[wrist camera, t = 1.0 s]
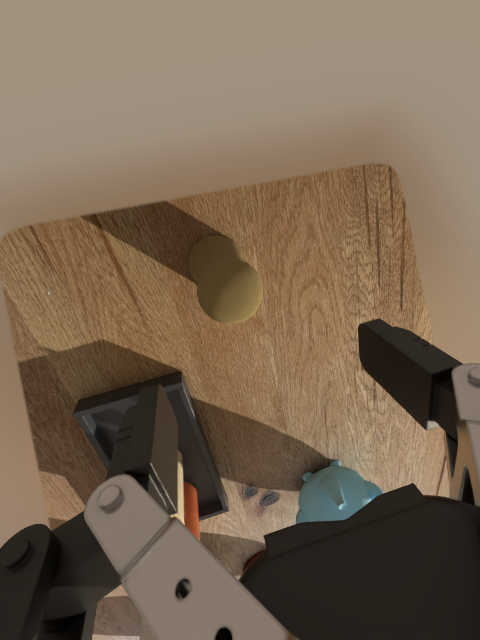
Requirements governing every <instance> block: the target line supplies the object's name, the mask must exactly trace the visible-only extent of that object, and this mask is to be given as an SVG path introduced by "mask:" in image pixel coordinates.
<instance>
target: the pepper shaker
mask: <svg viewBox="0 0 480 640" xmlns="http://www.w3.org/2000/svg"><path fill="white" fill-rule="evenodd" d="M188 268H189V272H190V275H191V277H192V278H193V280H194V281H195V282H196V284H197V285H198V289H197V295H198V299H199V303H200V306H201V307H202V309H203V310H204V312H205V313H206V314H207V315H208V316H210V317H211V318H212V319H214V320H215V321H218V322H221V323H224V324H235V323H239V322H243V321H244V320H246V319H248V318H249V317H251V316H252V315H253V314H254V313H255V312H256V311H257V309H258V307H259V305H260V303H261V301H262V296H263V287H262V281H261V278H260V277H259V275H258V273H257V271H256V270H255V269H254V268H253V267H252V266H250V265H249V264H248V263H247V262H245V260H244V257H243V254H242V252H241V250H240V248H239V246H238V245H237V244H236V243H235V242H234V241H233V240H232V239H229V238H227V237H225V236H220V235H212V236H207V237H205V238H203V239H201V240H200V241H198V242H197V243H196V244H195V245H194V247H193V248H192V249H191V252H190V254H189V257H188Z"/></svg>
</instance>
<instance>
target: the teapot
mask: <svg viewBox="0 0 480 640" xmlns="http://www.w3.org/2000/svg"><path fill="white" fill-rule="evenodd" d="M302 479H303V480H304V481H305V483H304V485H303V487H302V489H301V492H300V495H299V511H298V513H297V516H296V524H298V523H301V522H316V521H335V520H345V519H347V518H349V517H350V516H352V515H353V514H354V513H356V512H357V511H358V510H359V509H361V508H362V507H363V506H365V505H366V504H367V503H369V502H370V501H371V500H373V499H374V498H375V497H377V496H378V495H381V494H384V492H383V491H382V490H381V489H380V488H379V487H378V486H377V485H376V484H374V483H372V482H369V481H366V480H364V479H363V477H362V476H361V475H360V474H359V473H358V472H356V471H355V470H352V469H350V468H347V467H343V466H340V461H333V462H331V463H330V465H329V467H327V468H324V469H322V470H319V471H318V472H316V473H314V474H313V473H312V472H307V473H305V474H304V475H303V476H302Z"/></svg>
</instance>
